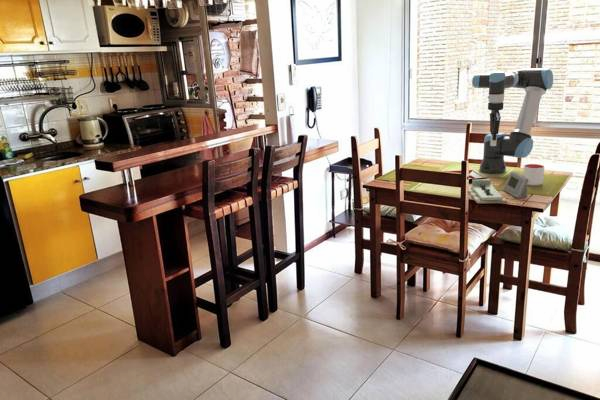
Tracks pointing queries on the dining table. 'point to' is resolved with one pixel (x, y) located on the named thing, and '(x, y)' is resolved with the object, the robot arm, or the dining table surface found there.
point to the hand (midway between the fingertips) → (493, 145)
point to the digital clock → (516, 185)
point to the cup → (534, 174)
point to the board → (486, 194)
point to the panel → (481, 194)
